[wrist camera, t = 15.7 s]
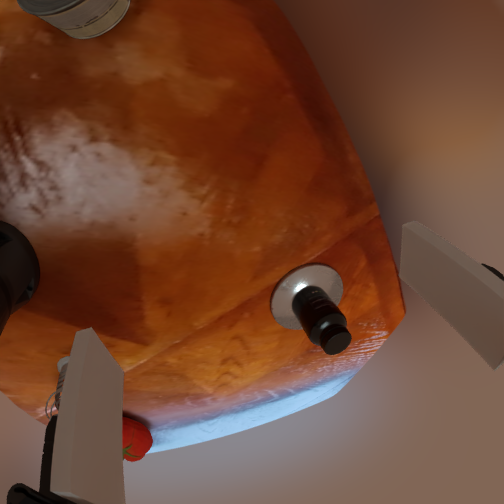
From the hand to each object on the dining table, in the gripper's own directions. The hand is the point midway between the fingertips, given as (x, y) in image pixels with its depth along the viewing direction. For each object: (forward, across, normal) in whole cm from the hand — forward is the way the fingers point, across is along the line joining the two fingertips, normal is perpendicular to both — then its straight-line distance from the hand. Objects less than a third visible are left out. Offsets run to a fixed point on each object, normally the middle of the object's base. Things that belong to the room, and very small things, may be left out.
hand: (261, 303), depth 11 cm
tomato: (+32, -38, -52) cm, 72 cm away
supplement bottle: (+31, +12, -29) cm, 44 cm away
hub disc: (+32, +12, -29) cm, 45 cm away
